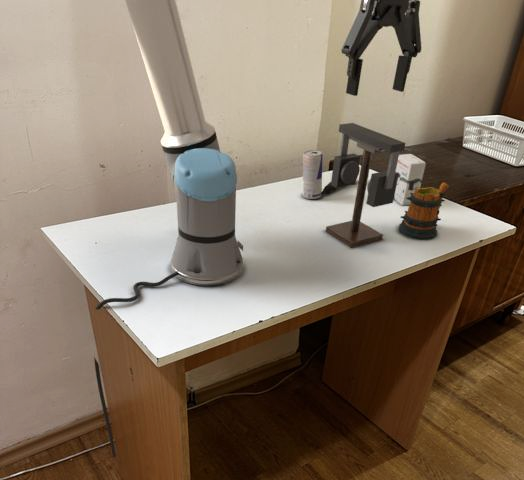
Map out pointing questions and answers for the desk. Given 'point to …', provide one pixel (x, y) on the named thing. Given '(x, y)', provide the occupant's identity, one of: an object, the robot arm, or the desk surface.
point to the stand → (357, 211)
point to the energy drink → (312, 174)
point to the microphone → (328, 189)
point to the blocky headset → (348, 164)
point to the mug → (423, 213)
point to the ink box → (408, 177)
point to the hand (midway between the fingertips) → (375, 92)
